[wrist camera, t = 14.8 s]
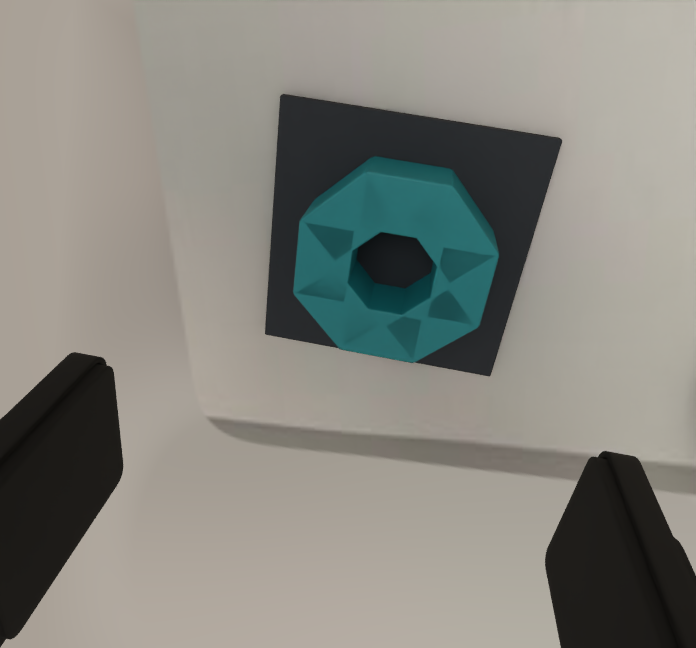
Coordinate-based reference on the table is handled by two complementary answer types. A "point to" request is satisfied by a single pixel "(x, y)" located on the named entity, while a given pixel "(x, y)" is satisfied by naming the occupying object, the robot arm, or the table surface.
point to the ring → (406, 220)
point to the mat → (395, 250)
